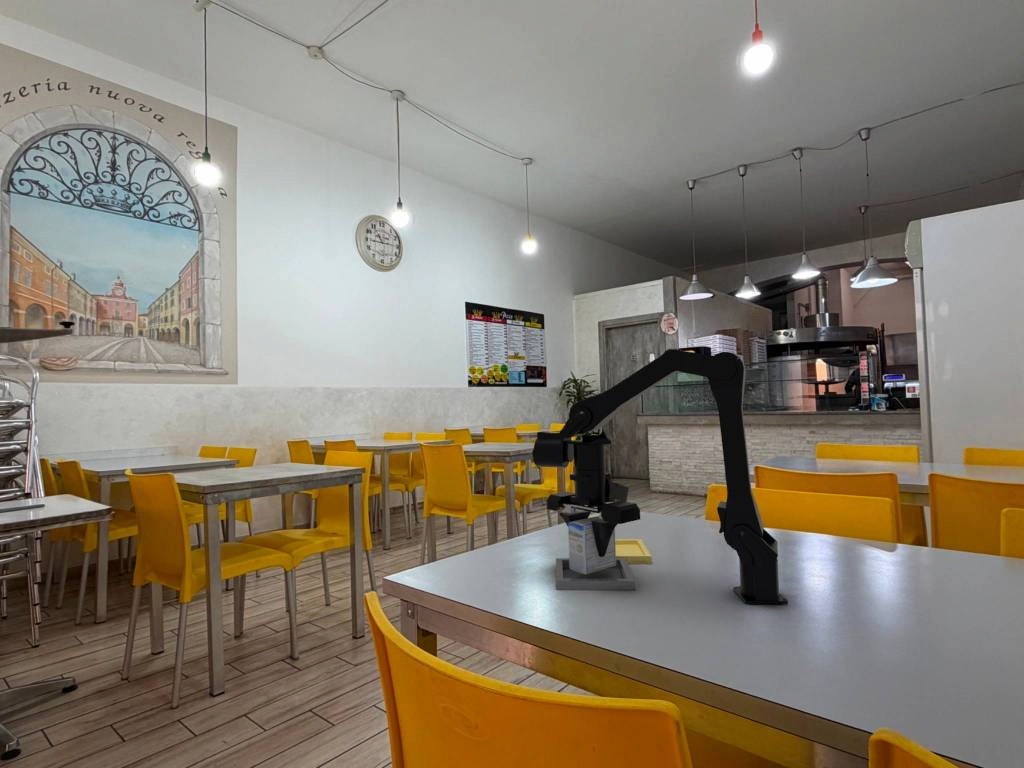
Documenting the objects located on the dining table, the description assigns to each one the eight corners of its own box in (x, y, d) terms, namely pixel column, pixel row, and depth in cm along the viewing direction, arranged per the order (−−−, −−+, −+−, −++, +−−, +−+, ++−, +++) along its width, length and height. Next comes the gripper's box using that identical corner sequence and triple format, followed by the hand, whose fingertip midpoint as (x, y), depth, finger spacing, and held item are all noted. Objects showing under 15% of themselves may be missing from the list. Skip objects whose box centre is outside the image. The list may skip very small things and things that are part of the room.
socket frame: (635, 589, 93) (635, 581, 93) (556, 589, 94) (556, 580, 94) (625, 565, 106) (625, 558, 106) (556, 565, 107) (556, 558, 107)
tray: (651, 563, 107) (651, 556, 107) (605, 563, 108) (605, 556, 108) (641, 546, 120) (641, 539, 120) (600, 546, 121) (599, 539, 121)
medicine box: (599, 561, 104) (597, 515, 105) (617, 566, 101) (615, 518, 101) (568, 569, 100) (566, 521, 100) (585, 575, 96) (583, 525, 96)
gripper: (658, 468, 98) (662, 555, 98) (584, 461, 113) (587, 537, 112) (616, 474, 91) (620, 569, 91) (543, 466, 106) (546, 547, 106)
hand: (592, 553), depth 100 cm, fingers closed on medicine box, 4 cm apart
